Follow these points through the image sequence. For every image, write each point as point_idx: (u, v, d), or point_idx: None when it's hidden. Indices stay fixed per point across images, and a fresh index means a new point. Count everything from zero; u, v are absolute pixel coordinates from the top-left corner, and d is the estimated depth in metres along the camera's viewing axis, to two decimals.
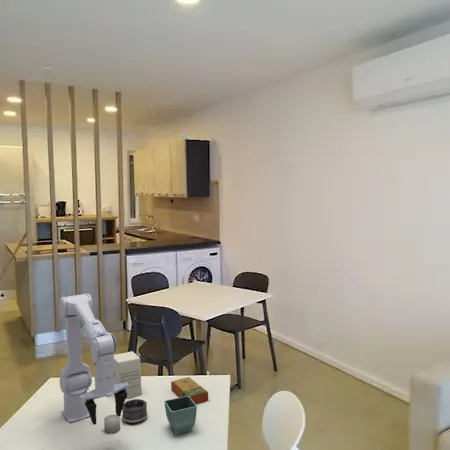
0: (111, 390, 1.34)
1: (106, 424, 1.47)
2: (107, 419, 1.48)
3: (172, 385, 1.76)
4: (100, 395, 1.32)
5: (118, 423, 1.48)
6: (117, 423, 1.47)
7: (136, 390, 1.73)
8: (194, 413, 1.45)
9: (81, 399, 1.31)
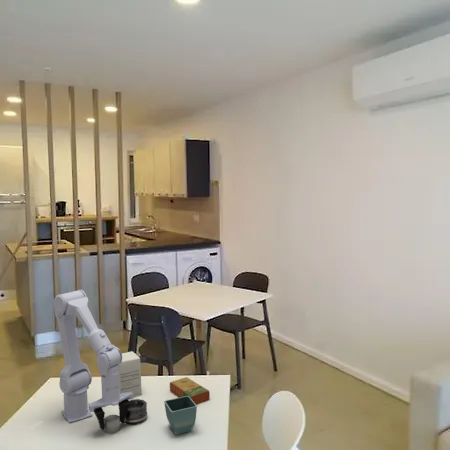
0: (117, 399, 1.47)
1: (106, 424, 1.47)
2: (107, 419, 1.48)
3: (171, 386, 1.76)
4: (107, 404, 1.45)
5: (118, 423, 1.48)
6: (117, 423, 1.47)
7: (136, 390, 1.73)
8: (194, 413, 1.45)
9: (89, 408, 1.44)
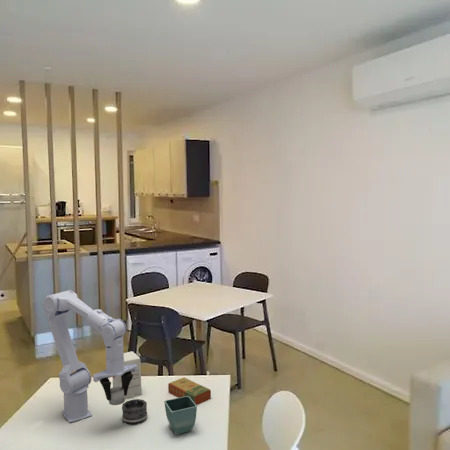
0: (121, 370, 1.47)
1: None
2: (112, 391, 1.49)
3: (170, 387, 1.75)
4: (111, 374, 1.46)
5: (122, 395, 1.49)
6: (121, 395, 1.48)
7: (136, 390, 1.73)
8: (194, 413, 1.45)
9: (94, 378, 1.45)
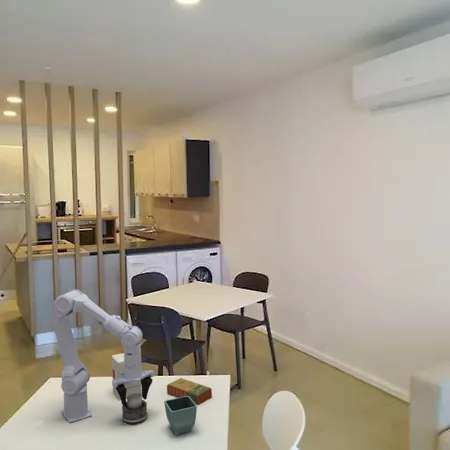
0: (139, 376, 1.53)
1: (129, 402, 1.53)
2: (130, 397, 1.55)
3: (169, 388, 1.74)
4: (129, 380, 1.52)
5: (140, 401, 1.55)
6: (139, 401, 1.54)
7: (136, 390, 1.73)
8: (194, 413, 1.45)
9: (113, 384, 1.50)
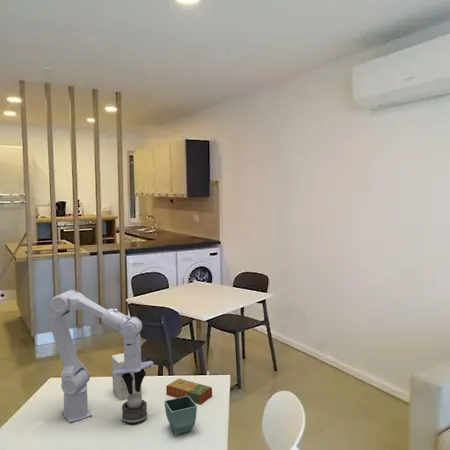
0: (138, 367, 1.53)
1: (129, 402, 1.53)
2: (130, 397, 1.55)
3: (169, 389, 1.73)
4: (129, 371, 1.51)
5: (140, 401, 1.55)
6: (139, 401, 1.54)
7: None
8: (194, 413, 1.45)
9: (113, 374, 1.50)
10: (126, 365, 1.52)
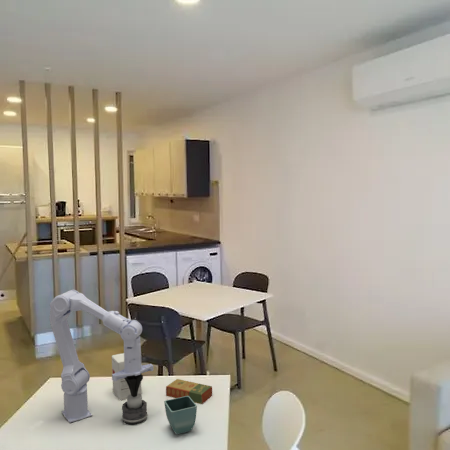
0: (138, 370, 1.53)
1: (129, 402, 1.53)
2: (130, 397, 1.55)
3: (168, 390, 1.72)
4: (129, 374, 1.51)
5: (140, 401, 1.55)
6: (139, 401, 1.54)
7: None
8: (194, 413, 1.45)
9: (113, 377, 1.50)
10: (126, 368, 1.52)
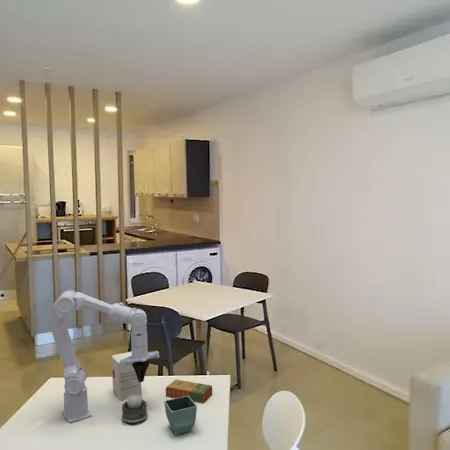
0: (145, 356, 1.60)
1: (129, 402, 1.53)
2: (130, 397, 1.55)
3: (168, 390, 1.72)
4: (136, 360, 1.58)
5: (140, 401, 1.55)
6: (139, 401, 1.54)
7: (136, 390, 1.73)
8: (194, 413, 1.45)
9: (121, 363, 1.57)
10: (133, 355, 1.59)
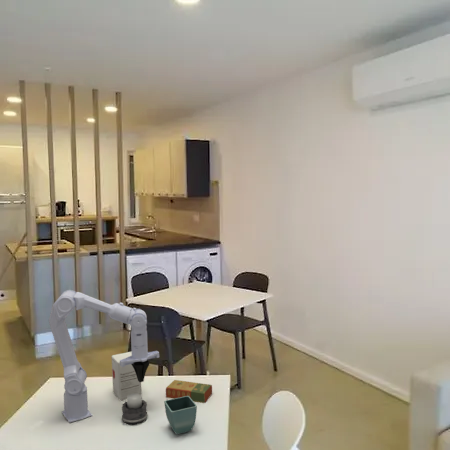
0: (145, 356, 1.60)
1: (129, 402, 1.53)
2: (130, 397, 1.55)
3: (168, 391, 1.71)
4: (136, 360, 1.58)
5: (140, 401, 1.55)
6: (139, 401, 1.54)
7: (136, 390, 1.73)
8: (194, 413, 1.45)
9: (121, 363, 1.57)
10: (133, 355, 1.59)
